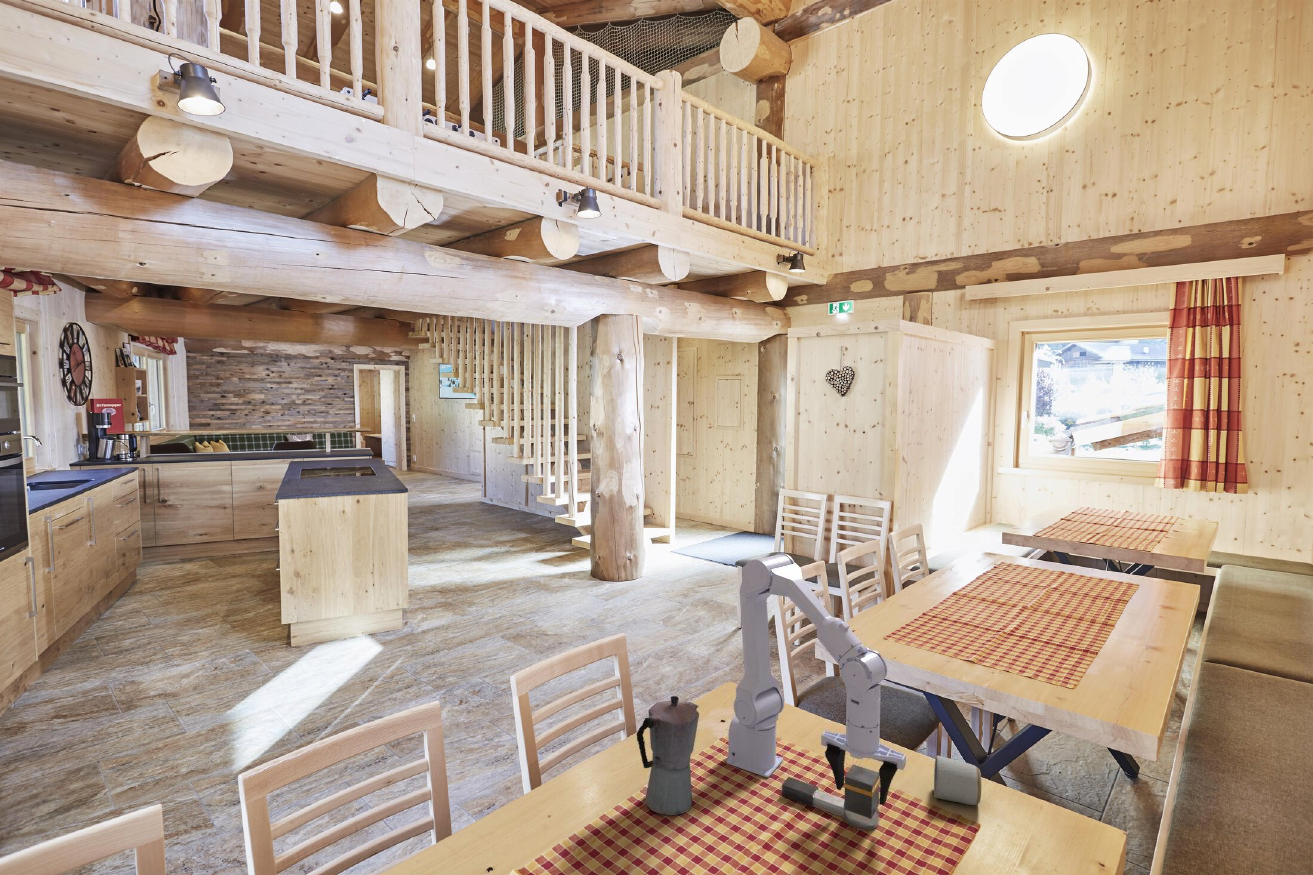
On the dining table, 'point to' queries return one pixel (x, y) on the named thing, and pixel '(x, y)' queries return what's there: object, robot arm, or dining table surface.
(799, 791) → the ratchet
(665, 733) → the moka pot
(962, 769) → the ceramic mug
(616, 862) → the dining table surface
